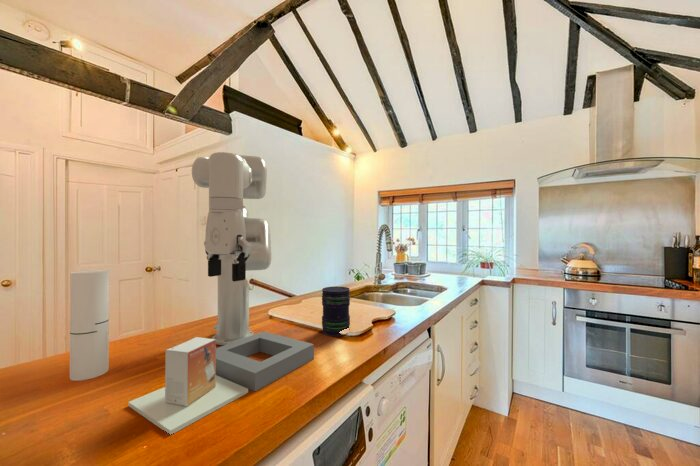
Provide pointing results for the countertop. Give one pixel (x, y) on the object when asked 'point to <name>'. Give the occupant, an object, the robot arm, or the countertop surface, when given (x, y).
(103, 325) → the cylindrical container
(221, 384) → the sage tile
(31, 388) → the countertop surface
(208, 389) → the small box
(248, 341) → the pocket block
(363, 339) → the countertop surface
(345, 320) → the storage jar
